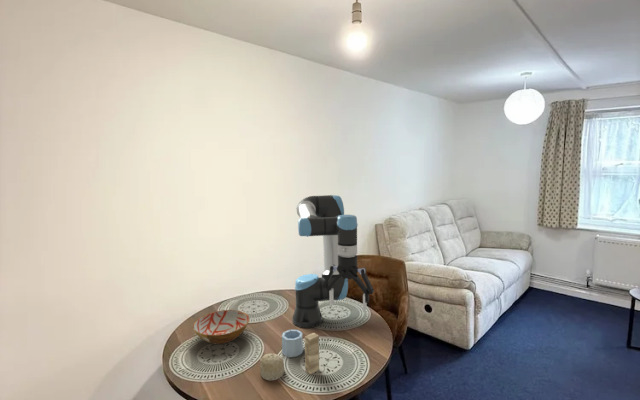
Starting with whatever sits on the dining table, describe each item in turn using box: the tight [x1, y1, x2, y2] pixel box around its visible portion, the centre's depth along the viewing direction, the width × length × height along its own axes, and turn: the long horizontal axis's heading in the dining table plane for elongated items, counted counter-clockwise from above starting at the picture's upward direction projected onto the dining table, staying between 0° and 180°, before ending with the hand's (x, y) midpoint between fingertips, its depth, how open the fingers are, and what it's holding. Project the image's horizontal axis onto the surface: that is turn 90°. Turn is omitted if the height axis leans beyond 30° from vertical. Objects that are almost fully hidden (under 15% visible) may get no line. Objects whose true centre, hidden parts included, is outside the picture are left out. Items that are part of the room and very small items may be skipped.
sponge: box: [259, 353, 285, 382], centre depth 126 cm, size 9×10×10 cm
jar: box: [281, 329, 304, 358], centre depth 140 cm, size 9×9×8 cm
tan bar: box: [304, 332, 320, 375], centre depth 126 cm, size 3×4×14 cm, turn 130°
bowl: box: [192, 309, 250, 345], centre depth 152 cm, size 25×25×8 cm
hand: (347, 307), depth 129 cm, fingers open, 13 cm apart
